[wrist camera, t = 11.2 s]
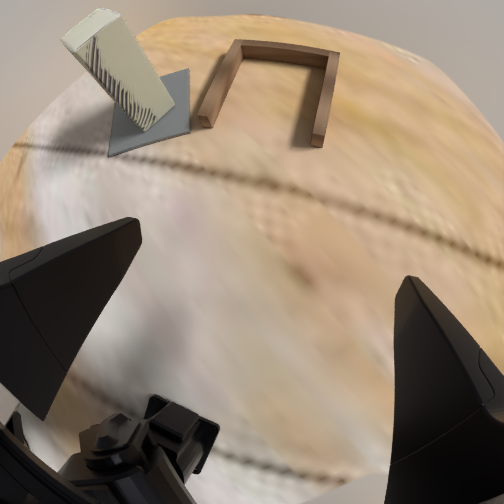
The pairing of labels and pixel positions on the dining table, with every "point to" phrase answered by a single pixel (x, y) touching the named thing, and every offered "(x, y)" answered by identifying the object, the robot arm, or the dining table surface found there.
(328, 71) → the cradle
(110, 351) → the dining table surface
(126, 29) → the box
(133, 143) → the coaster
